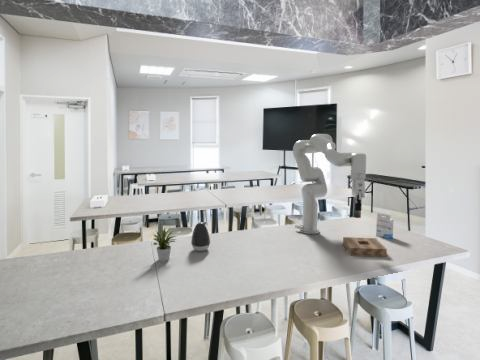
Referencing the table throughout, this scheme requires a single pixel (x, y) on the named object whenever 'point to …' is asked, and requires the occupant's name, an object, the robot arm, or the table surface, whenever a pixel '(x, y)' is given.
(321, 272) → the table surface
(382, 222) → the ink box
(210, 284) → the table surface
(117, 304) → the table surface
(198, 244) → the dark grey egg shape
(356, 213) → the peg
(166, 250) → the house plant
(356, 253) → the socket
